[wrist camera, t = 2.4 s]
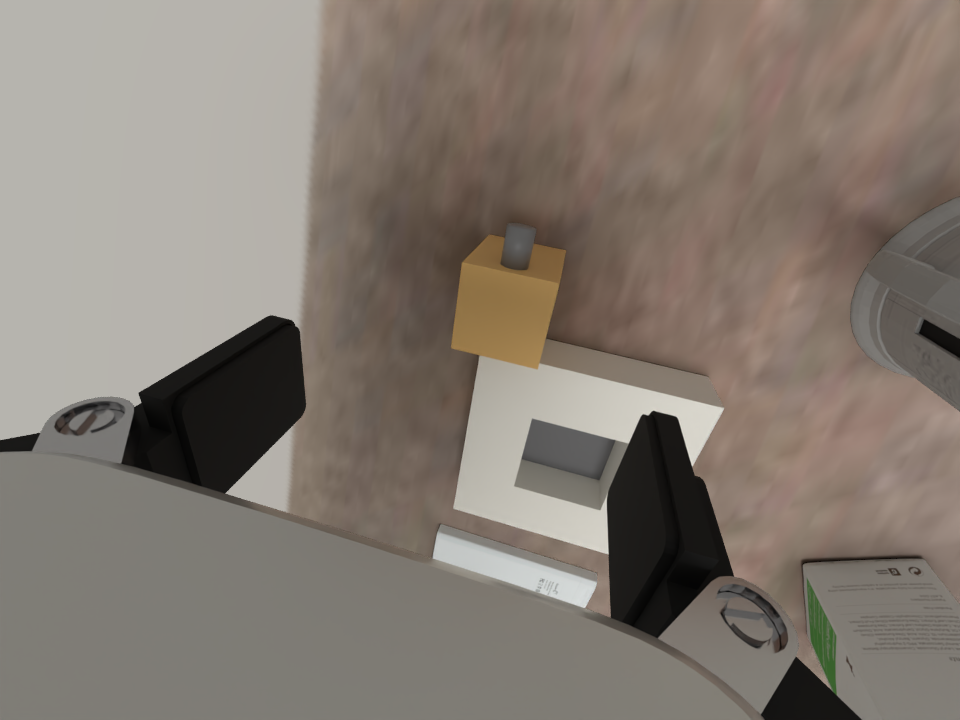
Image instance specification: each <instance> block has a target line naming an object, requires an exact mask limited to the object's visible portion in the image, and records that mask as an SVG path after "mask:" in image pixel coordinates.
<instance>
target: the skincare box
mask: <svg viewBox="0 0 960 720" xmlns="http://www.w3.org/2000/svg"><path fill="white" fill-rule="evenodd" d="M803 576H804V596H805V608H806V621H807V636H808V639H809V641H810V643H811V645H812V648H813V650H814V652H815V655H816V657H817V659H818V661H819V663H820V666H821V668H822V670H823V672H824V674H825V676H826V679H827V681H828V683H829V685H830V688H831V690H832V691H833V692H834V693H835V694H836V695H837V696H838V697H839V698H840V699H841V700H842V701H843V702H844V703H845V704H846V705H847V706H848V707H849V708H850V709H851V710H853V711H854V712H855V713H856V714H857V715H858V716H859V717H860V718H861V719H862V720H960V604H959V603H958V602H957V600H956V599H955V598H954V597H953V595H952V594H951V593H950V592H949V590H948V589H947V588H946V586H945V585H944V584H943V583H942V581H941V580H940V579H939V578H938V576H937V575H936V574H935V572H934V571H933V570H932V568H931V567H930V566H929V565H928V563H927V562H926V561H925V560H924V559H883V560H854V561H834V562H815V563H805V564H804V565H803Z"/></svg>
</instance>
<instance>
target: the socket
mask: <svg viewBox="0 0 960 720" xmlns="http://www.w3.org/2000/svg"><path fill="white" fill-rule="evenodd" d="M723 410H724V407H723V405H722V403H721V401H720V399H719V397H718V395H717V393H716V390H715V388H714V386H713V384H712V382H711V380H710V378H709V377H707V376H703V375H698V374H694V373H690V372H686V371H681V370H677V369H673V368H669V367H664V366H660V365H656V364H652V363H647V362H643V361H639V360H635V359H631V358H626V357H622V356H618V355H614V354H609V353H605V352H601V351H597V350H592V349H588V348H584V347H580V346H575V345H571V344H567V343H563V342H558V341H554V340H550V339H545V343H544V347H543V351H542V355H541V359H540V363H539V367H538V370H537V369H533V368H529V367H525V366H521V365H517V364H513V363H509V362H505V361H501V360H497V359H493V358H489V357H485V356H479V362H478V368H477V374H476V380H475V385H474V391H473V397H472V403H471V409H470V415H469V421H468V426H467V432H466V438H465V444H464V450H463V456H462V461H461V467H460V473H459V479H458V485H457V491H456V496H455V502H454V508H453V509H456V510H459V511H463V512H466V513H470V514H473V515H476V516H480V517H483V518H487V519H490V520H493V521H497V522H500V523H504V524H507V525H510V526H514V527H517V528H521V529H524V530H527V531H531V532H534V533H538V534H541V535H544V536H548V537H551V538H555V539H558V540H561V541H565V542H568V543H572V544H575V545H578V546H582V547H585V548H589V549H592V550H595V551H599V552H602V553H606V554H609V552H608V525H607V495H608V491H609V488H610V486H611V483H612V481H613V479H614V476H615V474H616V472H617V470H618V467H619V465H620V463H621V460H622V458H623V456H624V453H625V451H626V449H627V447H628V444H629V442H630V440H631V437H632V435H633V433H634V431H635V428H636V426H637V424H638V421H639V419H640V417H641V416H642V415H643V414H645V415H649V414H650V413H651V412H652V411H656V412H660V413H664V414H668V415H672V416H676V417H677V418H678V420H679V424H680V427H681V430H682V434H683V437H684V441H685V444H686V448H687V451H688V455H689V458H690V462H691V465H692V466H693V465H694V463H695V461H696V459H697V457H698V455H699V454H700V452H701V450H702V448H703V446H704V444H705V443H706V441H707V439H708V437H709V435H710V433H711V432H712V430H713V428H714V426H715V424H716V423H717V421H718V419H719V417H720V415H721V413H722V412H723Z"/></svg>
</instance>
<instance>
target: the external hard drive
mask: <svg viewBox="0 0 960 720" xmlns="http://www.w3.org/2000/svg"><path fill="white" fill-rule="evenodd" d="M433 559H436V560H439V561H442V562H445V563H448V564H452V565H455V566H458V567H461V568H464V569H467V570H470V571H474V572H477V573H480V574H483V575H486V576H489V577H492V578H495V579H499V580H502V581H505V582H508V583H511V584H514V585H517V586H520V587H523V588H526V589H529V590H532V591H535V592H538V593H541V594H544V595H547V596H550V597H553V598H556V599H559V600H562V601H565V602H568V603H571V604H574V605H577V606H580V607H583V608H585V607H586V605H587V603H588V601H589V599H590V598H591V596H592V594H593V592H594V590H595V588H596V585H597V573H595V572H592V571H589V570H586V569H583V568H579V567H576V566H573V565H570V564H567V563H564V562H561V561H557V560H554V559H551V558H548V557H545V556H542V555H538V554H535V553H532V552H529V551H526V550H522V549H519V548H516V547H513V546H510V545H506V544H503V543H500V542H497V541H494V540H491V539H487V538H484V537H481V536H478V535H475V534H471V533H468V532H465V531H462V530H459V529H455V528H452V527H449V526H446V525H443V524H440V527H439V529H438V532H437V536H436V541H435V547H434V552H433Z"/></svg>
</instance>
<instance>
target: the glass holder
mask: <svg viewBox="0 0 960 720" xmlns="http://www.w3.org/2000/svg"><path fill="white" fill-rule="evenodd" d="M850 320H851V326H852V331H853V334H854V336H855V338H856V341H857V343H858V345H859V346H860V347H861V348H862V350H863V351H864V352H865V353H866V355H867V356H869V357H870V358H871V359H872V360H874V361H875V362H876V363H878V364H879V365H881V366H883V367H885V368H887V369H889V370H891V371H893V372H895V373H899V374H902V375H906V376H909V377H913V378H916V379H917V380H918V381H920V382H921V383H922V384H924V385H925V386H926V387H928V388H929V389H930V390H932V391H933V392H934V393H936V394H937V395H938V396H940V397H941V398H942V399H944V400H945V401H946V402H948V403H949V404H950V405H952V406H953V407H954V408H956V409H957V410H958V411H960V197H957V198H954V199H952V200H950V201H948V202H946V203H944V204H942V205H940V206H938V207H936V208H934V209H932V210H930V211H928V212H927V213H925V214H924V215H922V216H920V217H919V218H917V219H916V220H914V221H913V222H911V223H910V224H908V225H907V226H906V227H905V228H903V229H902V230H901V231H900V232H898V233H897V234H896V235H895V236H893V237H892V238H891V239H890V240H889V241H888V242H887V243H886V244H885V245H884V246H883V247H882V248H881V250H880V251H879V252H878V253H877V254H876V255H875V256H874V258H873V259H872V260H871V261H870V262H869V264H868V265H867V267H866V269H865V270H864V272H863V274H862V276H861V278H860V280H859V282H858V284H857V286H856V288H855V292H854V295H853V299H852V302H851V314H850Z"/></svg>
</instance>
